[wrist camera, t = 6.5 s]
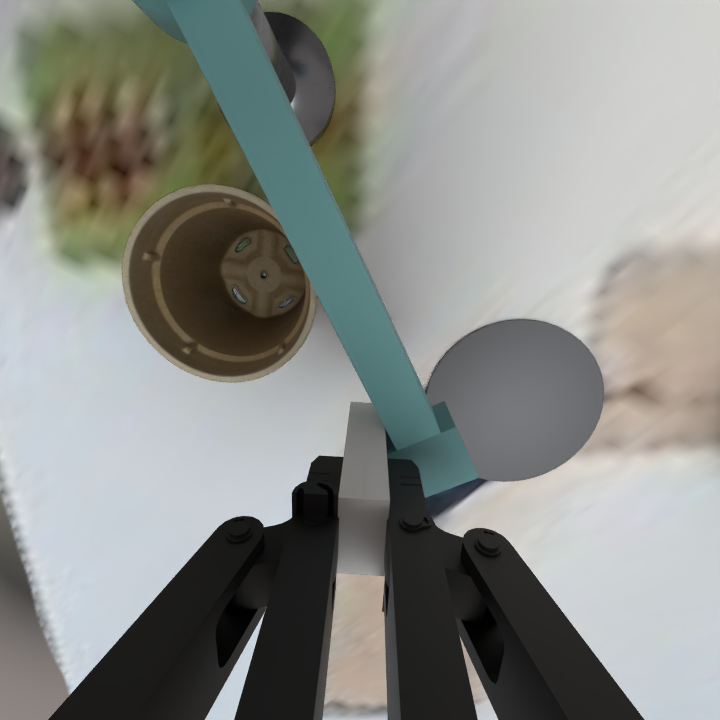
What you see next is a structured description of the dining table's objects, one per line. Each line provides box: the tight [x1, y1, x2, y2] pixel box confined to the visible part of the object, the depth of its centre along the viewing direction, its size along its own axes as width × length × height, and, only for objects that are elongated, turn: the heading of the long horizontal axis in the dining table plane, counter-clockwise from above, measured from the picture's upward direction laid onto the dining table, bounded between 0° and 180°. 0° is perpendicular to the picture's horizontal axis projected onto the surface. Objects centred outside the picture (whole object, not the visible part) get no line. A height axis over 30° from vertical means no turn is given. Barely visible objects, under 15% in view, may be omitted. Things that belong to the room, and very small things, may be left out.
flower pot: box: [122, 184, 317, 383], centre depth 22 cm, size 9×9×9 cm
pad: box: [426, 320, 604, 482], centre depth 29 cm, size 13×13×1 cm
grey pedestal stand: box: [218, 0, 336, 147], centre depth 18 cm, size 7×7×11 cm
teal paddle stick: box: [132, 0, 479, 498], centre depth 13 cm, size 22×4×3 cm, turn 26°
